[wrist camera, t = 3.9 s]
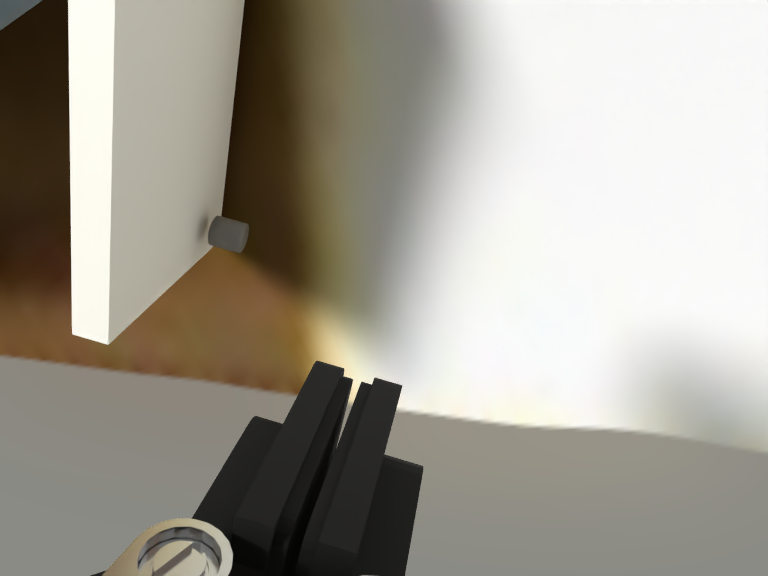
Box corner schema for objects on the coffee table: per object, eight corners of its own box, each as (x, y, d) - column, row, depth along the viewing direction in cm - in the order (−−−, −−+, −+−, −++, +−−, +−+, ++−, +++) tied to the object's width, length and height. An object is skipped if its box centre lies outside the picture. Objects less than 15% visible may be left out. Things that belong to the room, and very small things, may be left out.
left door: (226, -118, 18) (48, -174, 11) (307, -97, 18) (178, -141, 11) (195, 231, 23) (60, 343, 16) (258, 248, 23) (149, 370, 16)
